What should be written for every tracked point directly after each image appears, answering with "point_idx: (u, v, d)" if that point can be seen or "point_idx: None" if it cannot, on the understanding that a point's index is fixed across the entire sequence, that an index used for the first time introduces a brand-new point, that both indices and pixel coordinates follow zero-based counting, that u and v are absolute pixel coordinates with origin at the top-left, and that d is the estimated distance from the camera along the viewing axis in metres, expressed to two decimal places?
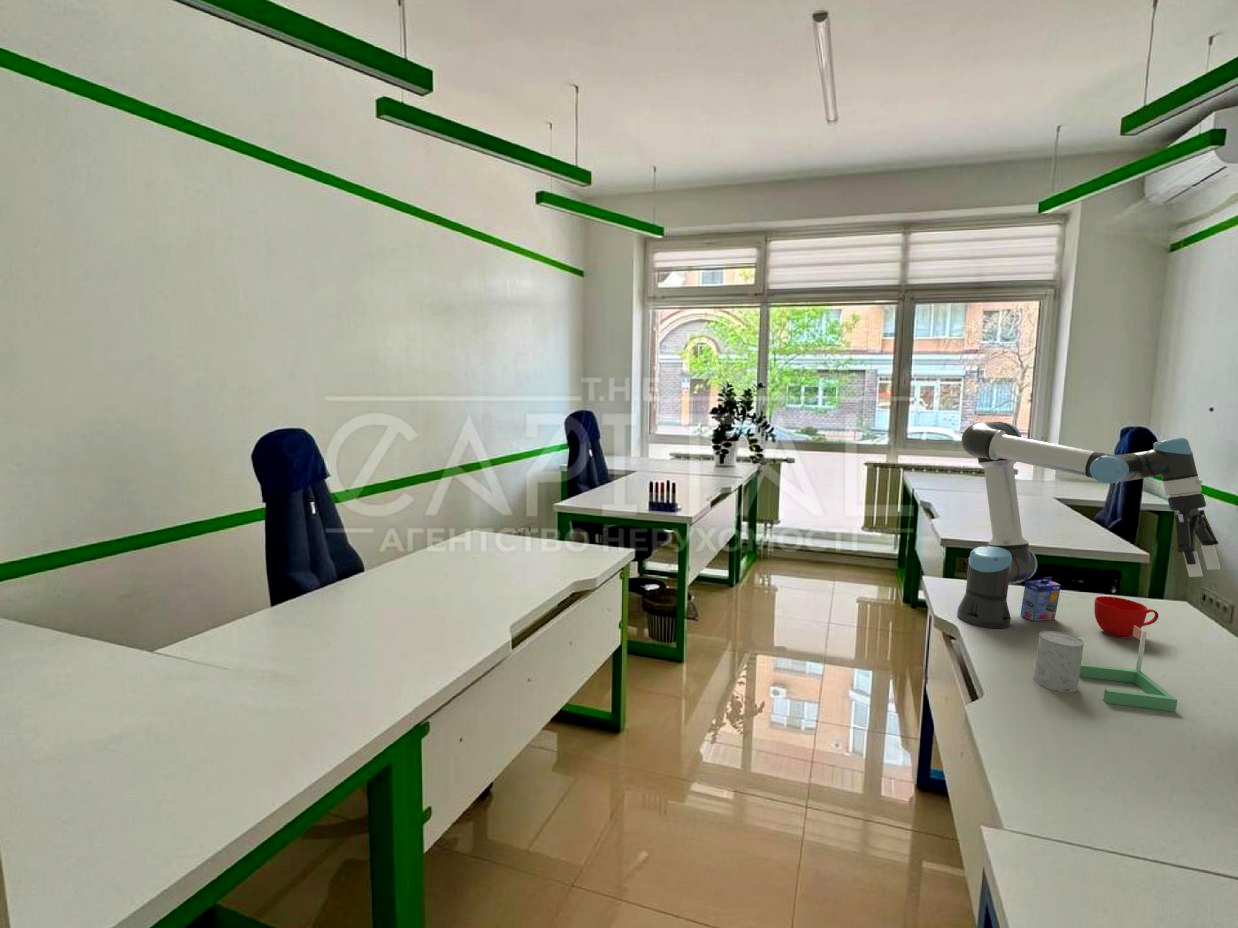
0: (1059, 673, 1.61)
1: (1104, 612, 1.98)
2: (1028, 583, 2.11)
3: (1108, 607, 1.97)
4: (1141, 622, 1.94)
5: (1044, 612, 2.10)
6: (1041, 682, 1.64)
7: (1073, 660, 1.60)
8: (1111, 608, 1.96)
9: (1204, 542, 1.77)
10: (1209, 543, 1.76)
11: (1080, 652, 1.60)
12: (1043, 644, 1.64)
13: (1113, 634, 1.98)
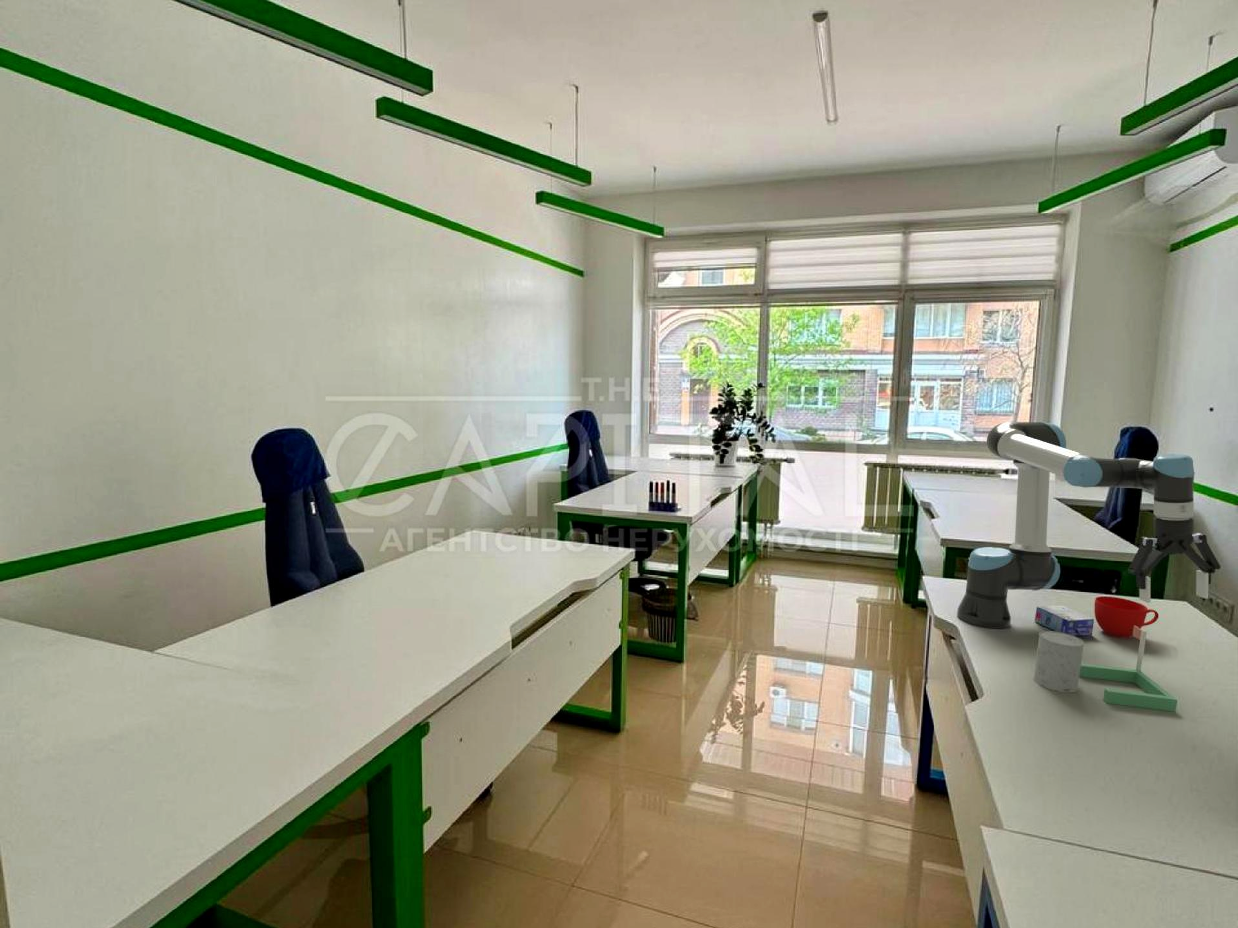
0: (1059, 673, 1.61)
1: (1104, 612, 1.98)
2: (1066, 623, 1.97)
3: (1108, 607, 1.97)
4: (1141, 622, 1.94)
5: None
6: (1041, 682, 1.64)
7: (1073, 660, 1.60)
8: (1111, 608, 1.96)
9: (1201, 567, 1.62)
10: (1204, 570, 1.61)
11: (1080, 652, 1.60)
12: (1043, 644, 1.64)
13: (1113, 634, 1.98)
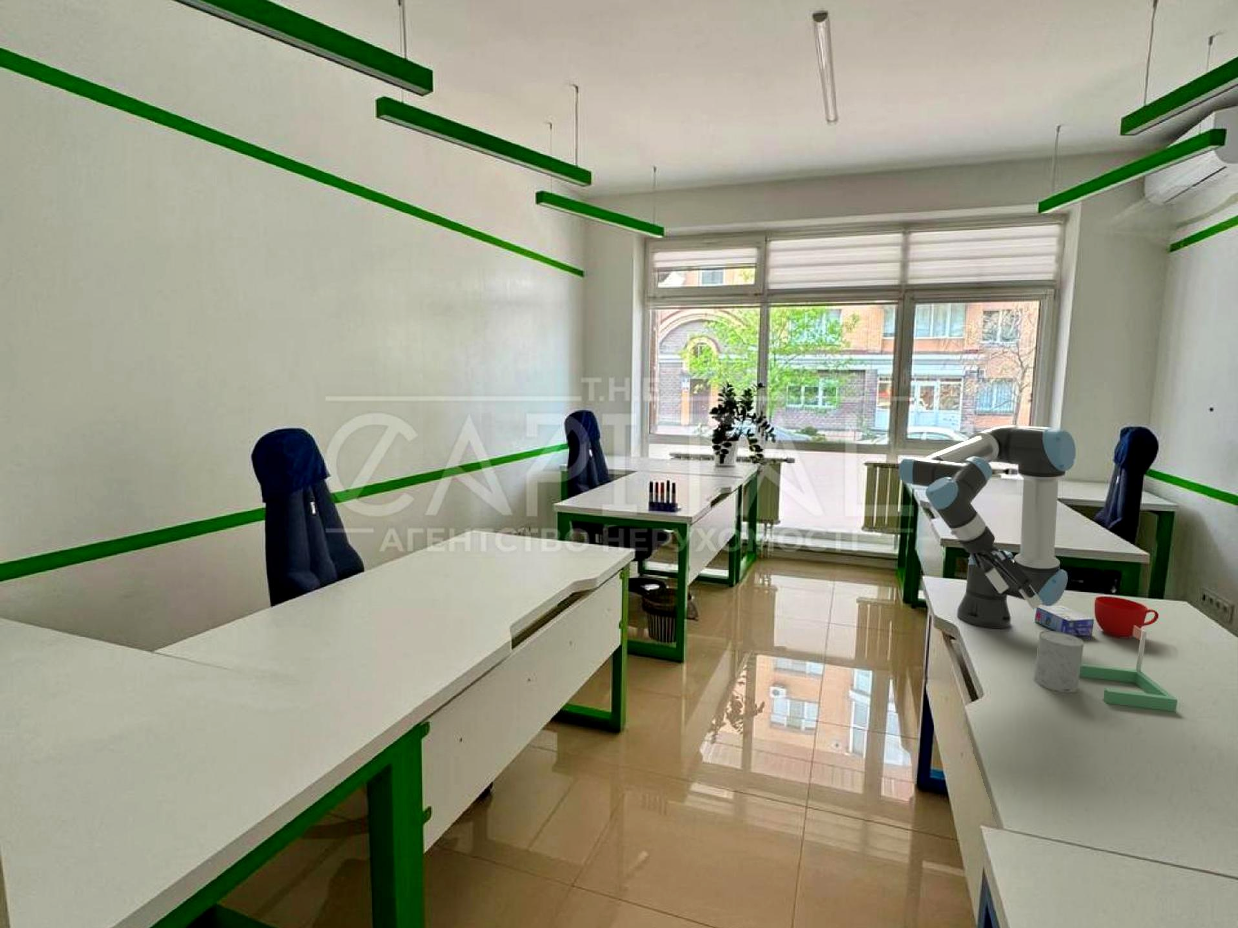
0: (1059, 673, 1.61)
1: (1104, 612, 1.98)
2: (1066, 623, 1.97)
3: (1108, 607, 1.97)
4: (1141, 622, 1.94)
5: None
6: (1041, 682, 1.64)
7: (1073, 660, 1.60)
8: (1111, 608, 1.96)
9: None
10: None
11: (1080, 652, 1.60)
12: (1043, 644, 1.64)
13: (1113, 634, 1.98)
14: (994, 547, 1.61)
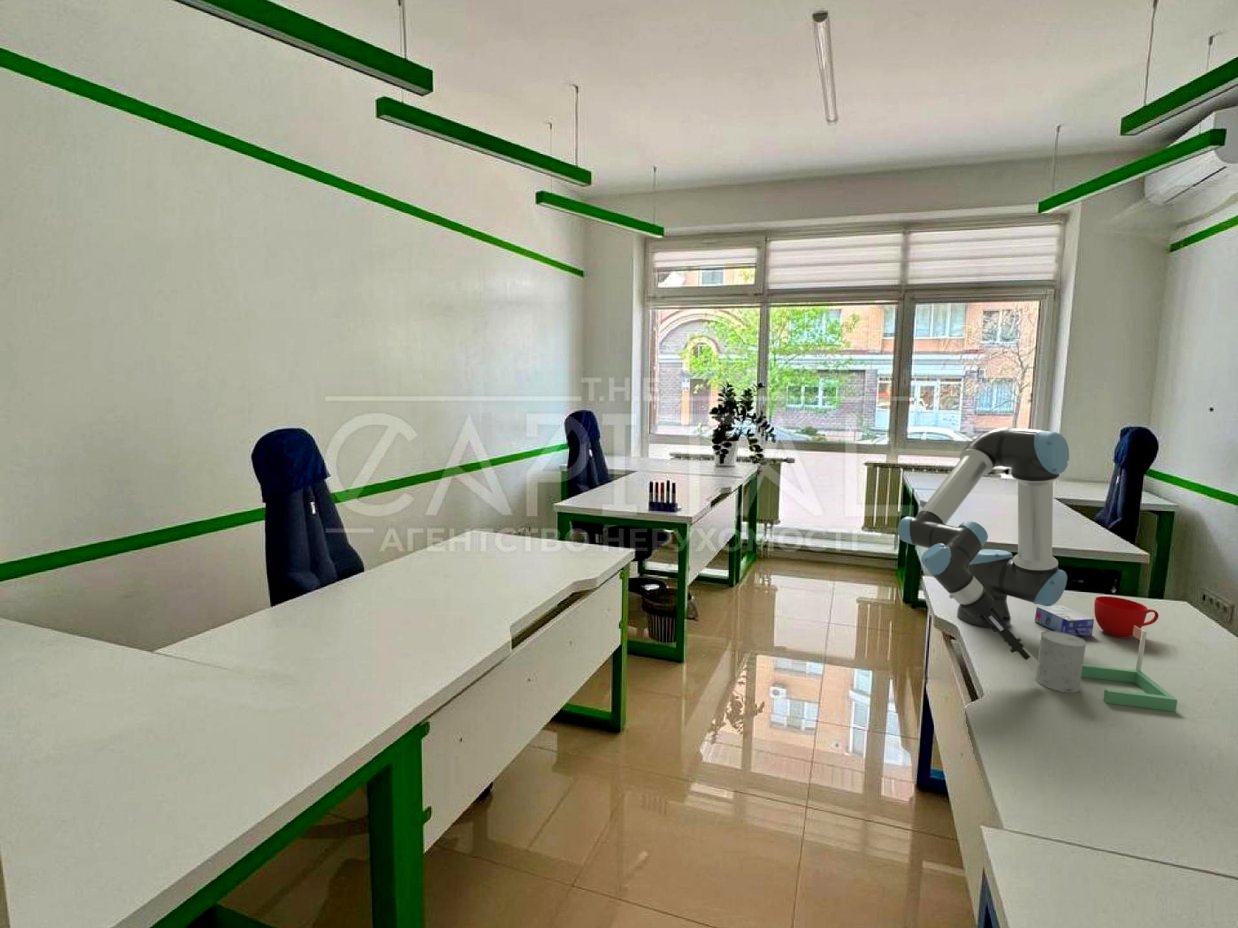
0: (1061, 673, 1.61)
1: (1104, 612, 1.98)
2: (1066, 623, 1.97)
3: (1108, 607, 1.97)
4: (1141, 622, 1.94)
5: None
6: (1043, 683, 1.64)
7: (1075, 660, 1.60)
8: (1111, 608, 1.96)
9: None
10: None
11: (1082, 652, 1.60)
12: (1045, 644, 1.64)
13: (1113, 634, 1.98)
14: (995, 612, 1.64)
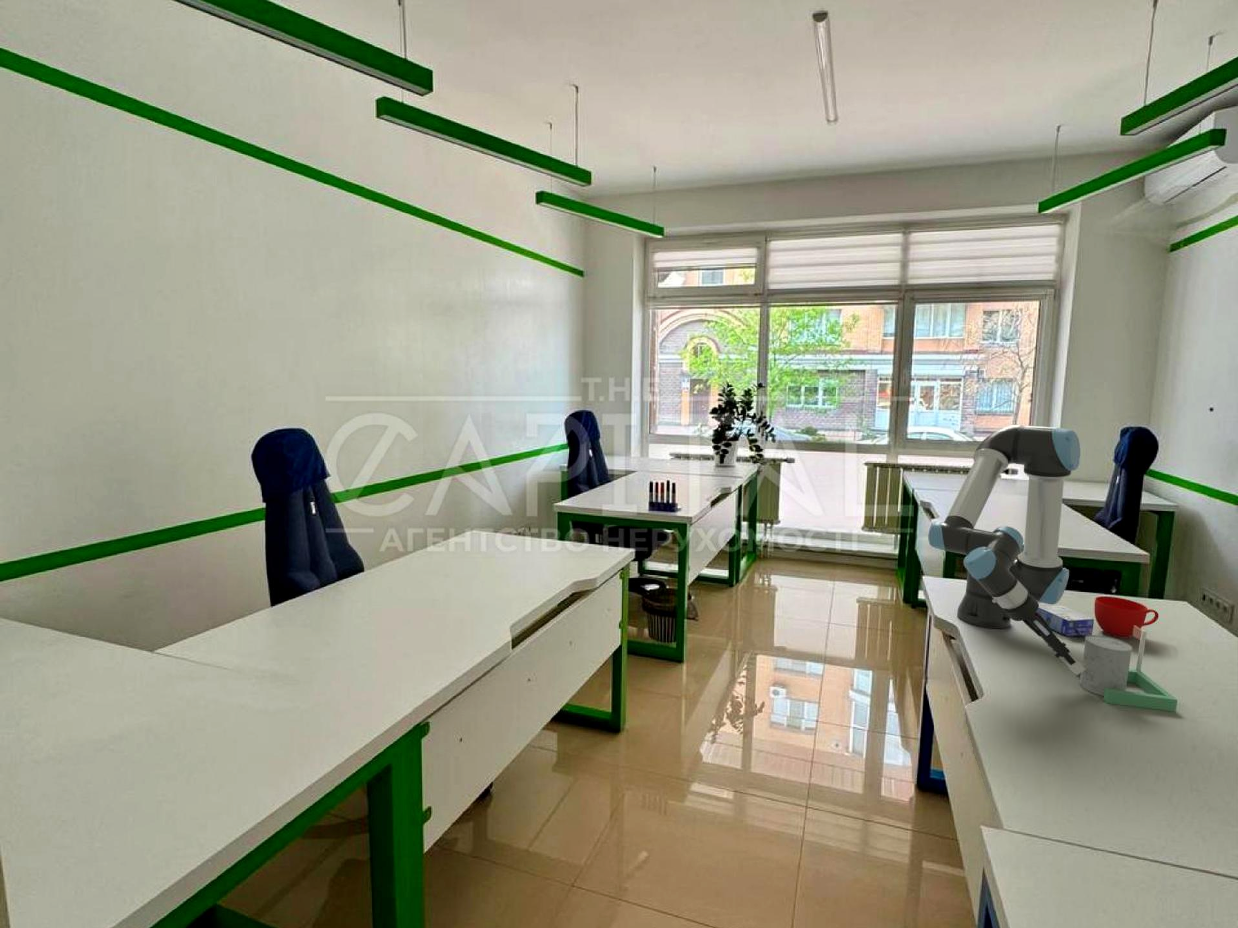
0: (1109, 679, 1.59)
1: (1104, 612, 1.98)
2: (1066, 623, 1.97)
3: (1108, 607, 1.97)
4: (1141, 622, 1.94)
5: None
6: (1090, 688, 1.62)
7: (1123, 665, 1.58)
8: (1111, 608, 1.96)
9: None
10: None
11: (1129, 656, 1.58)
12: (1091, 650, 1.61)
13: (1113, 634, 1.98)
14: (1040, 616, 1.62)
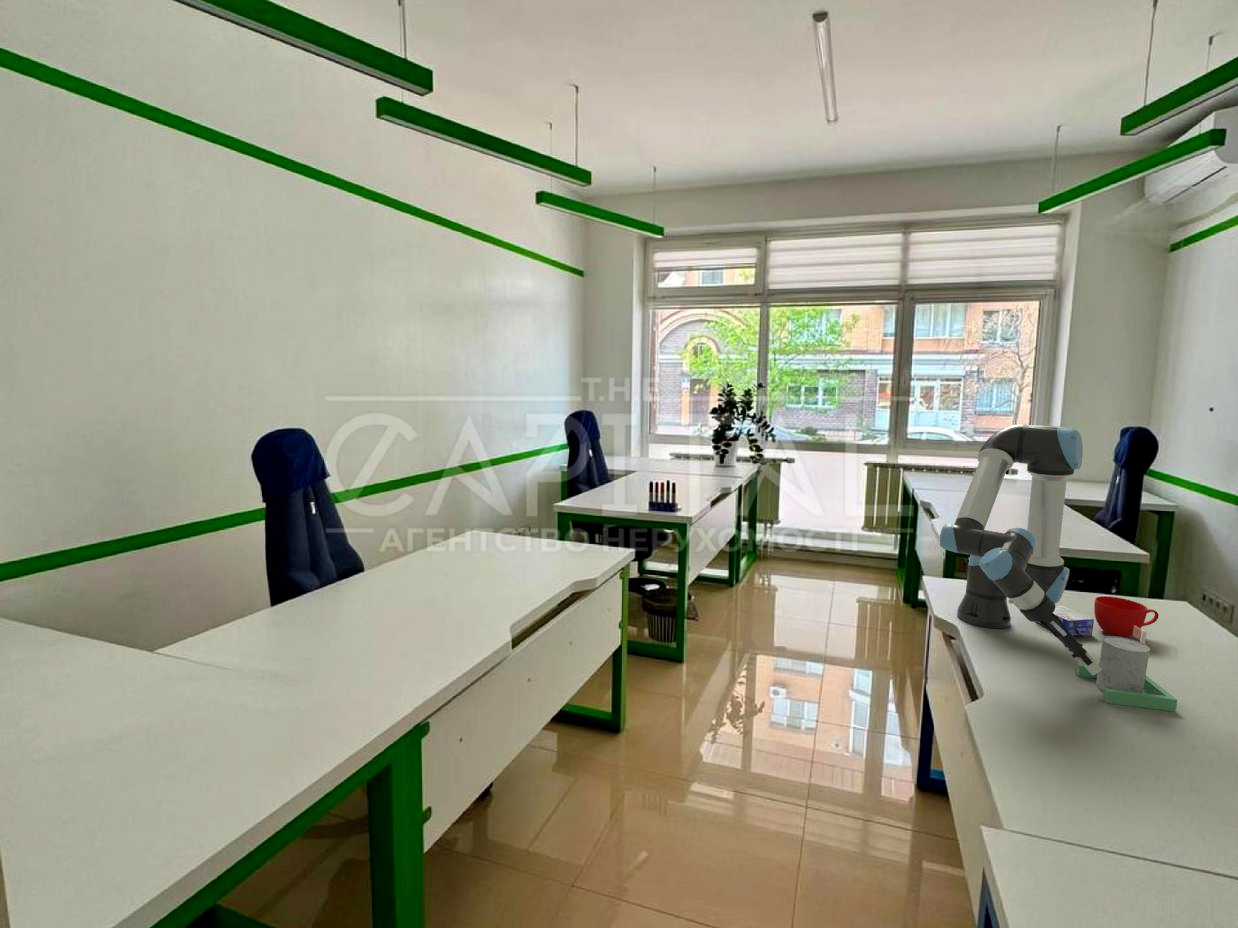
0: (1127, 680, 1.58)
1: (1104, 612, 1.98)
2: (1066, 623, 1.97)
3: (1108, 607, 1.97)
4: (1141, 622, 1.94)
5: None
6: None
7: (1141, 666, 1.58)
8: (1111, 608, 1.96)
9: None
10: None
11: (1147, 658, 1.58)
12: (1108, 651, 1.61)
13: (1113, 634, 1.98)
14: (1057, 617, 1.62)
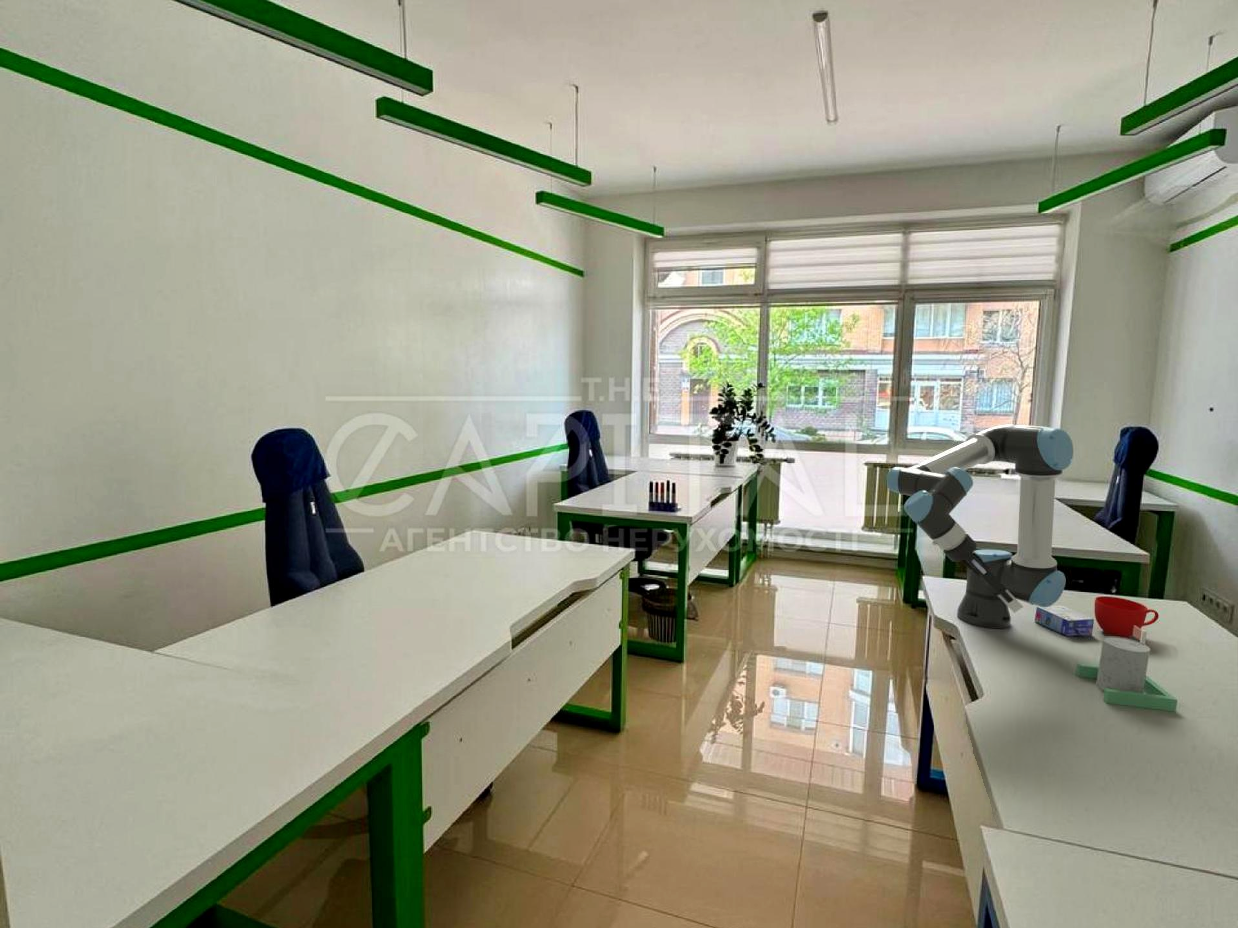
0: (1127, 680, 1.58)
1: (1104, 612, 1.98)
2: (1066, 623, 1.97)
3: (1108, 607, 1.97)
4: (1141, 622, 1.94)
5: None
6: None
7: (1141, 666, 1.58)
8: (1111, 608, 1.96)
9: None
10: None
11: (1147, 658, 1.58)
12: (1108, 651, 1.61)
13: (1113, 634, 1.98)
14: (978, 556, 1.65)
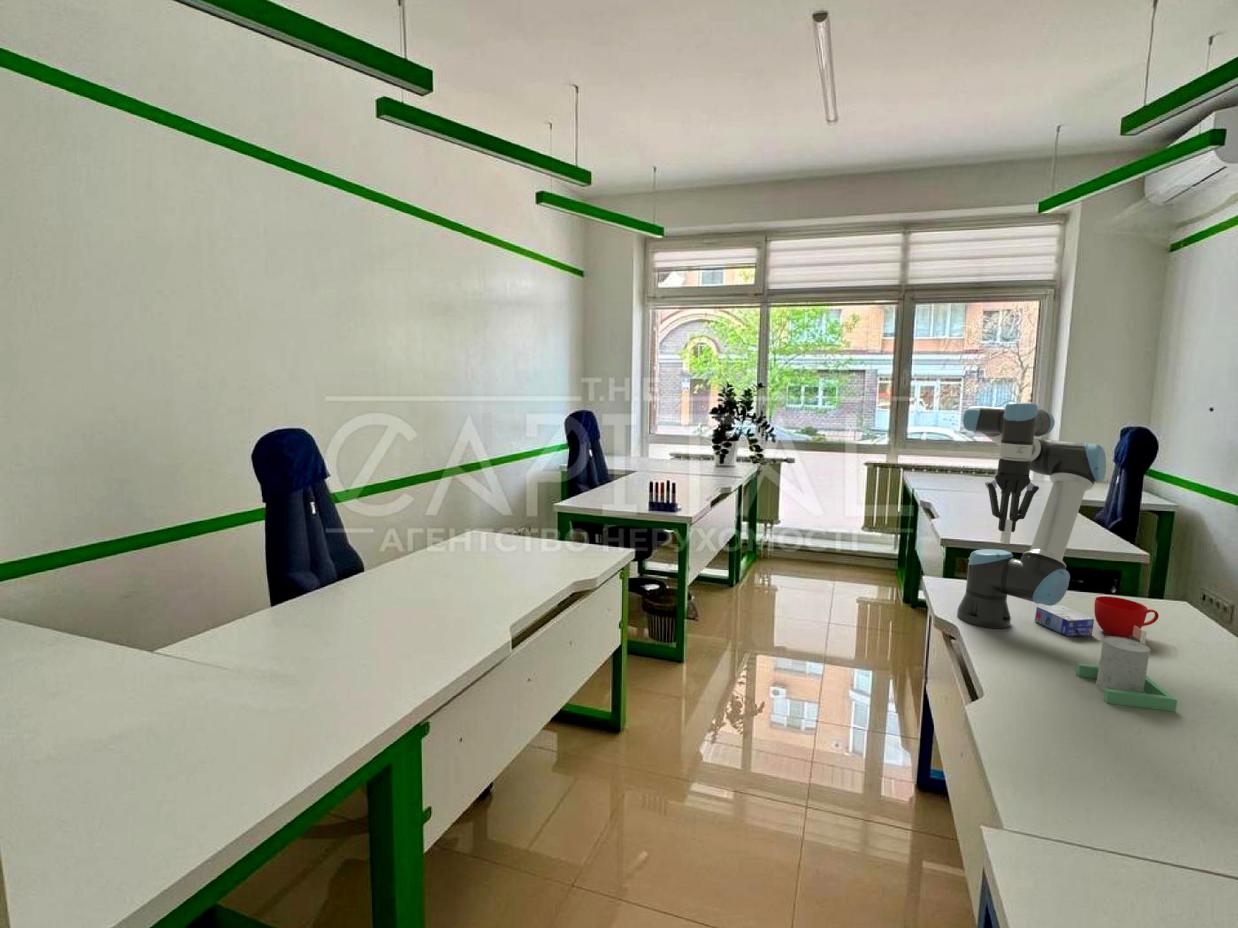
0: (1127, 680, 1.58)
1: (1104, 612, 1.98)
2: (1066, 623, 1.97)
3: (1108, 607, 1.97)
4: (1141, 622, 1.94)
5: None
6: None
7: (1141, 666, 1.58)
8: (1111, 608, 1.96)
9: (1011, 515, 1.78)
10: (1011, 518, 1.77)
11: (1147, 658, 1.58)
12: (1108, 651, 1.61)
13: (1113, 634, 1.98)
14: None
